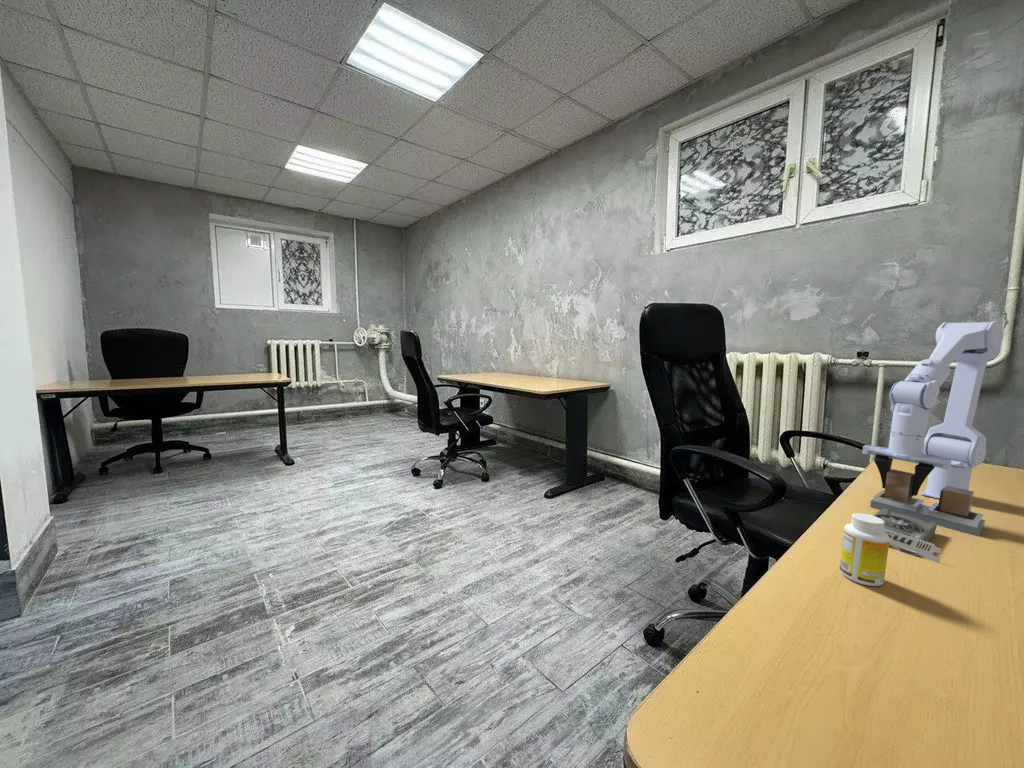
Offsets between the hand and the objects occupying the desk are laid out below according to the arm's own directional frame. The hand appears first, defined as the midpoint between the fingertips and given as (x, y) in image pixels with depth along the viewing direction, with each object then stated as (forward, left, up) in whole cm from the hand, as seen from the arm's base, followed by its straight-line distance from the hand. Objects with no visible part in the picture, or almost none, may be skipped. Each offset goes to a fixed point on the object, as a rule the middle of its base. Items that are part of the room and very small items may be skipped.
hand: (899, 491), depth 94 cm
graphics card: (+18, +5, -5) cm, 19 cm away
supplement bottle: (+43, +4, -5) cm, 44 cm away
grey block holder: (0, +5, -4) cm, 6 cm away
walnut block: (0, 0, -2) cm, 2 cm away
